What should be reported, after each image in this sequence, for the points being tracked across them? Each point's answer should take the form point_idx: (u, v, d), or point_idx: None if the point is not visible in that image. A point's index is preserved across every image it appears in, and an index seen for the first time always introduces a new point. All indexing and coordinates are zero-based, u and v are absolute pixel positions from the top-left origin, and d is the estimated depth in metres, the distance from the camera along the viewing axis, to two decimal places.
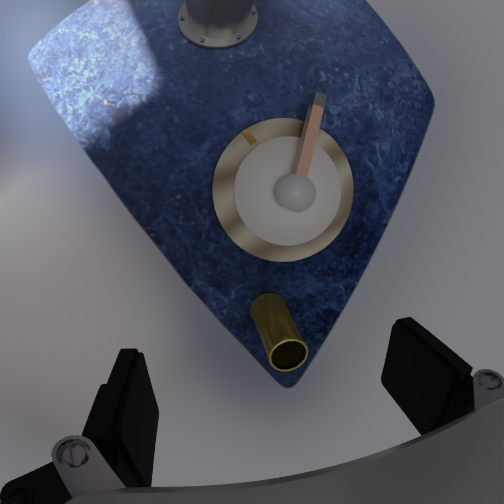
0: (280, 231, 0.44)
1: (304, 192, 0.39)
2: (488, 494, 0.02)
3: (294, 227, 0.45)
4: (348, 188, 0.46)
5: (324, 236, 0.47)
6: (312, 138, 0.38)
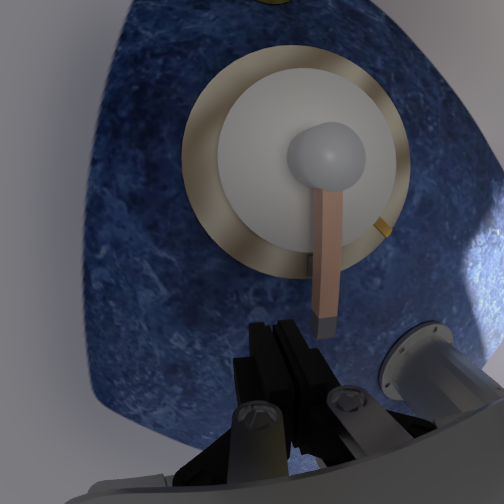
0: (313, 89, 0.22)
1: (324, 160, 0.20)
2: (488, 494, 0.02)
3: (290, 99, 0.22)
4: (199, 196, 0.25)
5: (217, 98, 0.23)
6: (328, 261, 0.23)
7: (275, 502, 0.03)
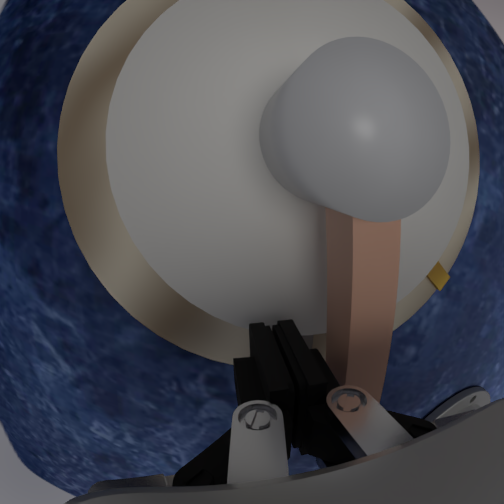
0: (306, 2, 0.09)
1: (357, 137, 0.07)
2: (488, 494, 0.02)
3: (260, 19, 0.09)
4: (87, 221, 0.12)
5: (128, 32, 0.10)
6: (361, 375, 0.09)
7: (275, 502, 0.03)
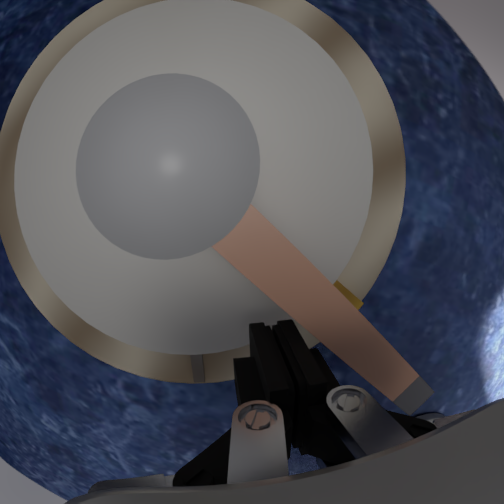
0: (82, 82, 0.10)
1: (151, 196, 0.07)
2: (488, 494, 0.02)
3: (66, 131, 0.10)
4: (15, 246, 0.12)
5: (39, 84, 0.11)
6: (342, 337, 0.10)
7: (275, 502, 0.03)
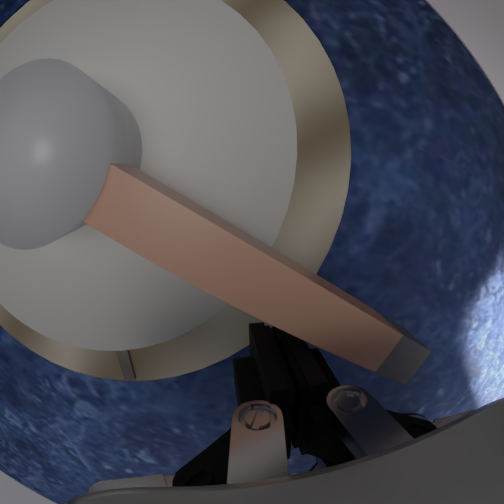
0: None
1: (17, 186, 0.06)
2: (488, 494, 0.02)
3: None
4: None
5: None
6: (273, 302, 0.08)
7: (275, 502, 0.03)
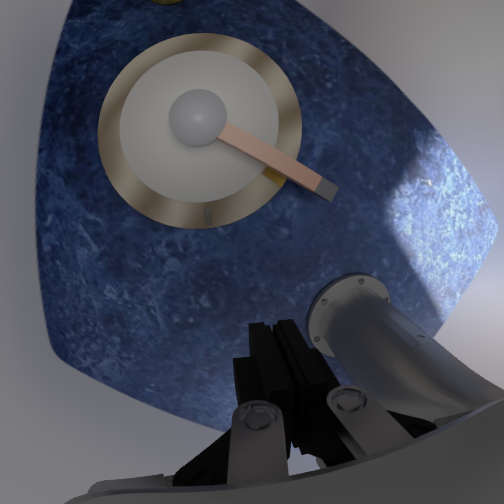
0: (146, 98, 0.26)
1: (196, 125, 0.24)
2: (488, 494, 0.02)
3: (145, 119, 0.27)
4: (111, 166, 0.29)
5: (122, 89, 0.27)
6: (273, 160, 0.26)
7: (275, 502, 0.03)
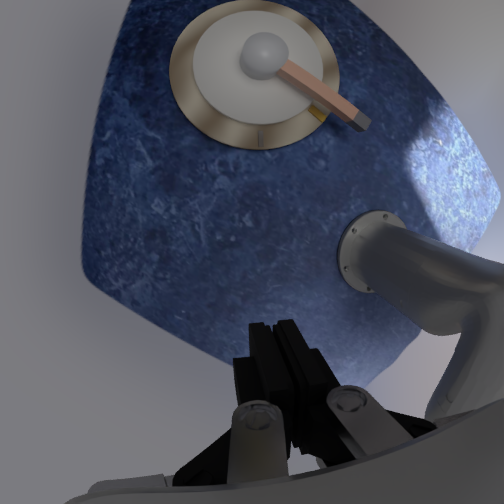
0: (218, 39, 0.30)
1: (265, 57, 0.28)
2: (488, 494, 0.02)
3: (216, 54, 0.30)
4: (179, 89, 0.32)
5: (195, 32, 0.30)
6: (322, 91, 0.30)
7: (275, 502, 0.03)
